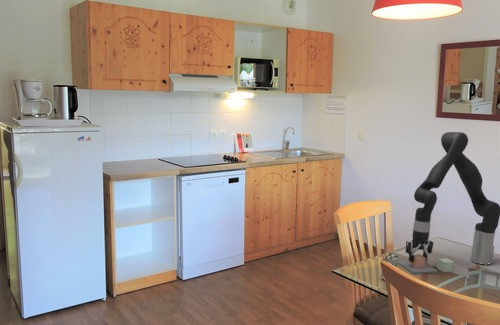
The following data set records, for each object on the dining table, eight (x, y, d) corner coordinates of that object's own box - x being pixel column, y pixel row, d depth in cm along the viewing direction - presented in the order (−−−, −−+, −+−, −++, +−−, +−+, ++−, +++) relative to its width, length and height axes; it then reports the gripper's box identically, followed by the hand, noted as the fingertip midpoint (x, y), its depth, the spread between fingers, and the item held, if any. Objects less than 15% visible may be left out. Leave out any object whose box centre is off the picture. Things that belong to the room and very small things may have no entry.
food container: (393, 283, 197) (396, 262, 196) (380, 279, 200) (382, 259, 199) (400, 274, 208) (402, 254, 206) (387, 271, 211) (389, 251, 209)
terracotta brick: (418, 263, 220) (419, 254, 220) (424, 267, 216) (425, 257, 215) (409, 263, 219) (410, 254, 218) (415, 267, 214) (416, 258, 214)
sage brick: (445, 267, 220) (446, 258, 219) (452, 271, 215) (453, 262, 214) (437, 268, 219) (438, 258, 218) (443, 272, 214) (444, 262, 213)
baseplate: (420, 261, 226) (420, 259, 226) (438, 272, 212) (438, 270, 212) (396, 262, 222) (396, 260, 222) (412, 274, 209) (412, 272, 209)
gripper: (429, 226, 220) (425, 258, 222) (404, 227, 216) (400, 259, 219) (439, 231, 212) (434, 263, 215) (413, 232, 209) (409, 265, 212)
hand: (417, 261), depth 217 cm, fingers open, 6 cm apart
